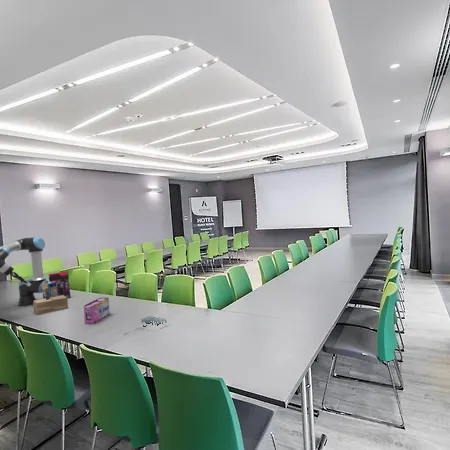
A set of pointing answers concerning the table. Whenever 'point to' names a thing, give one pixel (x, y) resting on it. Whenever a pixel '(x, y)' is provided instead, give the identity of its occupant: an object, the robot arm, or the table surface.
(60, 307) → the carton
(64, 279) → the graphics card box
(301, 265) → the table surface
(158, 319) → the grey bumpy mound
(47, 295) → the flap
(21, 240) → the robot arm
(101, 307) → the gum box
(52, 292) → the beverage box
